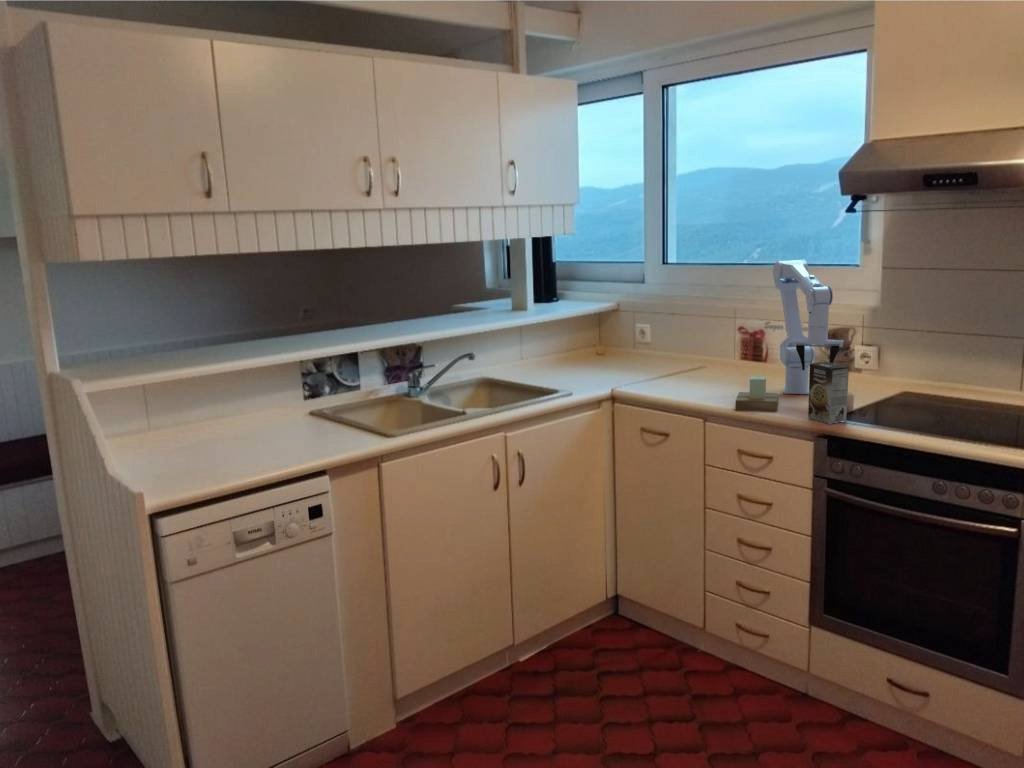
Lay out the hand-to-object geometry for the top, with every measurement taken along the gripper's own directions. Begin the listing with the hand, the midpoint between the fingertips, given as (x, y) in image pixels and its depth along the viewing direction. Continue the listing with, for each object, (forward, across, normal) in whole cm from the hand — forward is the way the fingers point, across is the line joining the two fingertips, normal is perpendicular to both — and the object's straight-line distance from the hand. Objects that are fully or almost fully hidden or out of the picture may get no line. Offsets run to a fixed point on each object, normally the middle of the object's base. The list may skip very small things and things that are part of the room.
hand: (816, 369), depth 253 cm
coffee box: (+11, +3, -22) cm, 25 cm away
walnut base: (+10, -17, -8) cm, 21 cm away
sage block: (+7, -17, -8) cm, 20 cm away
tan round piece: (+10, +8, -9) cm, 16 cm away
